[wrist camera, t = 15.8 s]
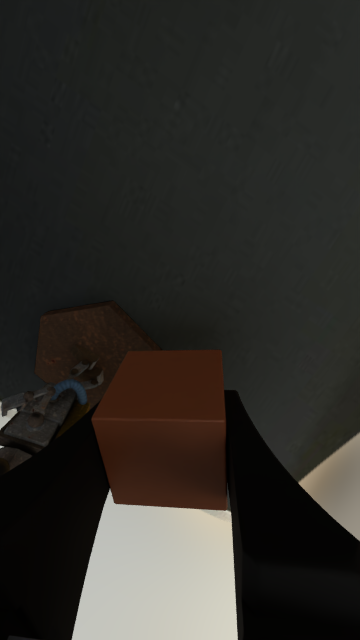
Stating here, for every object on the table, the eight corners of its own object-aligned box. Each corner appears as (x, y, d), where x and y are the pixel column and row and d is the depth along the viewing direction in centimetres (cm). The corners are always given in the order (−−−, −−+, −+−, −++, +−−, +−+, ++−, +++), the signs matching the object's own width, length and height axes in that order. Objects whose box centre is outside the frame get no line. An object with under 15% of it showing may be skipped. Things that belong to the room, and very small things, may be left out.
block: (140, 421, 15) (113, 504, 11) (127, 350, 13) (89, 418, 9) (223, 422, 14) (227, 511, 10) (221, 348, 12) (226, 421, 8)
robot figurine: (52, 274, 20) (-149, 371, 9) (174, 317, 20) (128, 463, 9) (38, 389, 24) (-106, 546, 13) (137, 423, 24) (76, 602, 14)
